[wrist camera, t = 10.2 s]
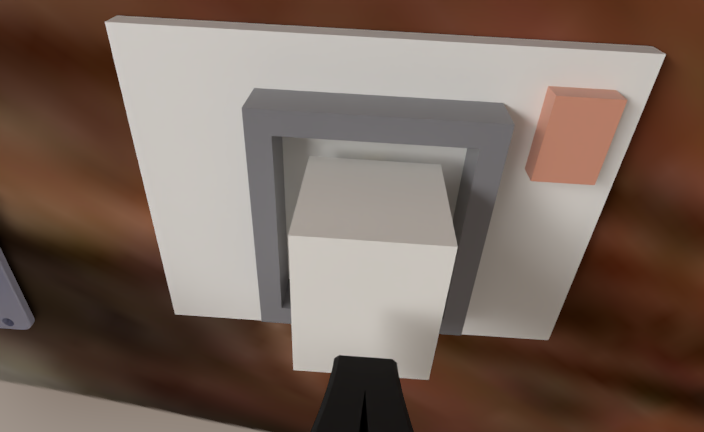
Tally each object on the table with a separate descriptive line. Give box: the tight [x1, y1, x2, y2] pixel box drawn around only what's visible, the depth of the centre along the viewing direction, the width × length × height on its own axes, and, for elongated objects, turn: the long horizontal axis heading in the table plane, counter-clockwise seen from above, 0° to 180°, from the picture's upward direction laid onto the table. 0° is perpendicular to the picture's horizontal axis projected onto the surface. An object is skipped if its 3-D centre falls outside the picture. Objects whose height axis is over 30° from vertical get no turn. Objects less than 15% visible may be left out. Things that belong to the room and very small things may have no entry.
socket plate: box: [105, 16, 666, 340], centre depth 17 cm, size 16×12×2 cm
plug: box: [288, 156, 458, 380], centre depth 15 cm, size 4×5×5 cm
